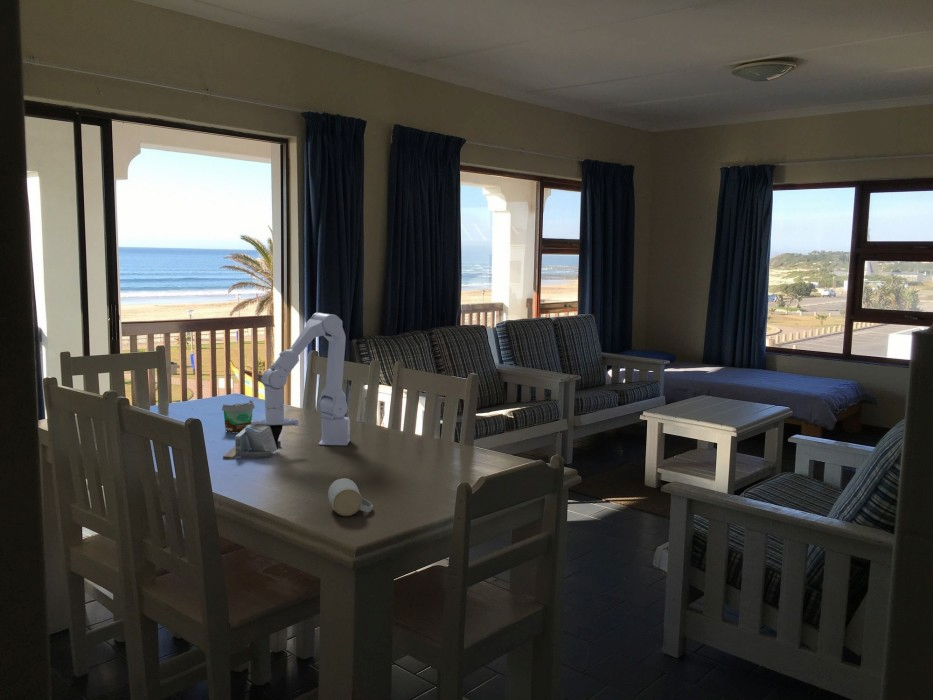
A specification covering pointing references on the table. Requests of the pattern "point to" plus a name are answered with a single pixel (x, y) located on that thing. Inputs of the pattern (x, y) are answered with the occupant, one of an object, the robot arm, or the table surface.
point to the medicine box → (261, 438)
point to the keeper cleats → (257, 453)
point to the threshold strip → (230, 454)
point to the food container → (237, 416)
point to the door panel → (241, 443)
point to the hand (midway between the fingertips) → (275, 448)
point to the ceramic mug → (347, 498)
